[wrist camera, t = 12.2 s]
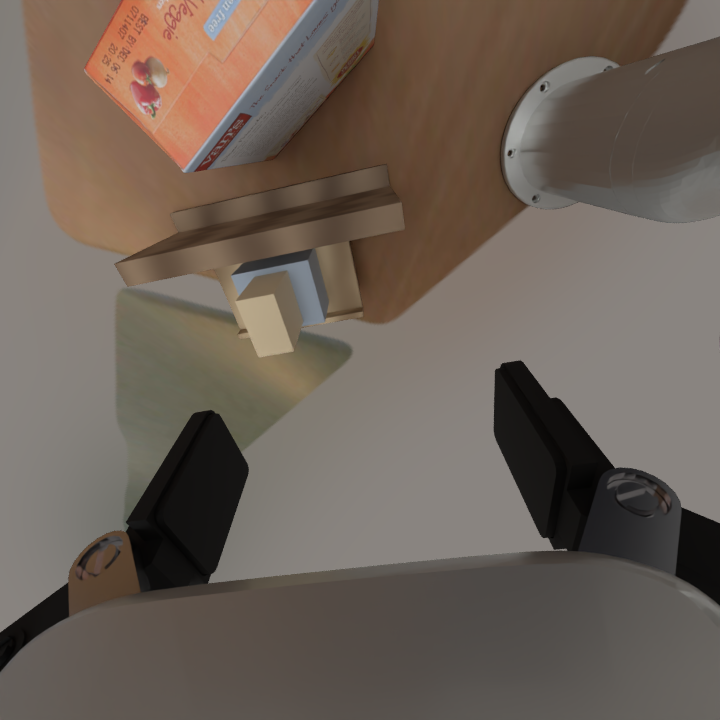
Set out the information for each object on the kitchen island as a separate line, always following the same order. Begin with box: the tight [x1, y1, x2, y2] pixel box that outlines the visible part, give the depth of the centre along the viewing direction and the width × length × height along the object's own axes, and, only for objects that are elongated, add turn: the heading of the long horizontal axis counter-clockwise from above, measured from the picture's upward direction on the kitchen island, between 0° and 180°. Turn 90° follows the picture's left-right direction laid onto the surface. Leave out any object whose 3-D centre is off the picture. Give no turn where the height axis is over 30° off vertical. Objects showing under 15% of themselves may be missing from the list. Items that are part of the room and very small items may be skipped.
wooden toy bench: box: [114, 164, 405, 339], centre depth 34 cm, size 24×13×13 cm, turn 101°
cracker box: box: [84, 0, 379, 173], centre depth 23 cm, size 14×6×21 cm, turn 130°
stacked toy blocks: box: [231, 248, 329, 357], centre depth 30 cm, size 7×6×10 cm
